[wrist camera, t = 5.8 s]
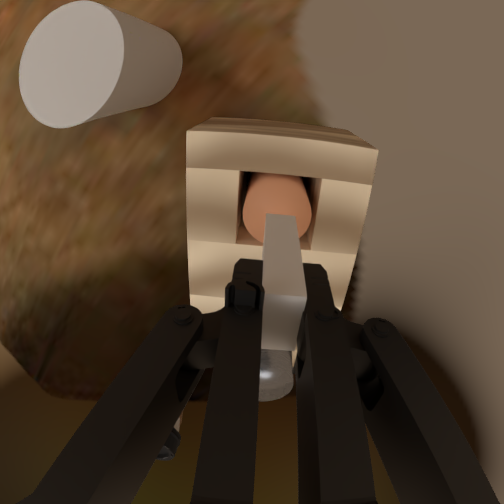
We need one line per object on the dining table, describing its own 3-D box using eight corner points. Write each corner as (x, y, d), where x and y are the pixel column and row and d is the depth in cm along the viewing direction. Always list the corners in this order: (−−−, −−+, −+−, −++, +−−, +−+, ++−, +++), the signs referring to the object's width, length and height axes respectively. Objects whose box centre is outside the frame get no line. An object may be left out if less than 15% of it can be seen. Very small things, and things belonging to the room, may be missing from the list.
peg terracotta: (252, 150, 27) (244, 179, 19) (302, 155, 27) (316, 186, 19) (249, 196, 29) (241, 242, 21) (297, 201, 29) (306, 248, 21)
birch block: (212, 116, 26) (186, 130, 18) (347, 130, 26) (378, 150, 18) (209, 299, 36) (194, 357, 28) (313, 308, 36) (322, 367, 28)
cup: (141, 11, 21) (69, -19, 10) (201, 60, 23) (152, 44, 13) (88, 75, 24) (3, 84, 13) (142, 124, 26) (70, 154, 16)
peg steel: (241, 281, 27) (229, 361, 19) (292, 285, 27) (298, 366, 19) (239, 319, 29) (228, 398, 21) (285, 323, 29) (288, 402, 21)
